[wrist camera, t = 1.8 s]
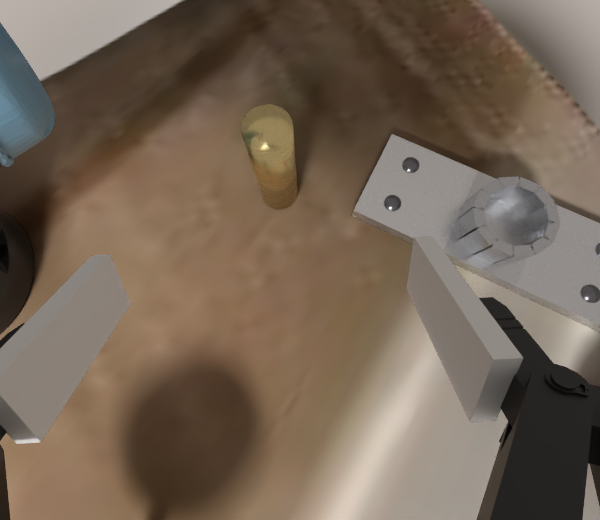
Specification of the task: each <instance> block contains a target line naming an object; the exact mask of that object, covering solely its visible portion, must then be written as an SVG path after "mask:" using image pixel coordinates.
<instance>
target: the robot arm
mask: <svg viewBox="0 0 600 520" xmlns="http://www.w3.org/2000/svg"><path fill="white" fill-rule="evenodd" d="M54 124H55V113H54V109H53V106H52V103H51V101H50V99H49V97H48V95H47V93H46V91H45V89H44V87H43V85H42V84H41V82H40V80H39V79H38V77H37V76H36V74H35V73H34V71H33V69H32V68H31V66H30V65H29V63H28V62H27V60H26V59H25V57H24V56H23V54H22V53H21V51H20V50H19V48H18V47H17V45H16V44H15V43H14V41H13V40H12V38H11V37H10V36H9V34H8V33H7V31H6V30H5V28H4V27H3V26H2V24H1V23H0V167H1V166H2V165H3V166H6V167H9V166H11V165H13V164H14V163H15V158H16V157H18V156H19V155H21V154H22V153H24V152H25V151H27V150H29V149H30V148H32V147H33V146H35V145H36V144H38V143H39V142H41V141H42V140H44V139H45V138H46V137H47V136H48V135H49V134H50V133H51V132H52V130H53V128H54ZM33 270H34V260H33V252H32V248H31V244H30V241H29V239H28V237H27V235H26V233H25V231H24V230H23V228H22V227H21V226H20V225H19V224H18V223H17V221H15V220H14V219H13V218H12V217H11V216H9V215H8V214H6V213H4V212H2V211H0V334H1V333H2V332H3V331H4V330H5V329H6V328H7V327H8V326H9V325H10V323H11V322H12V321H13V320H14V318H15V317H16V316H17V314H18V313H19V311H20V310H21V308H22V306H23V304H24V302H25V300H26V298H27V296H28V293H29V290H30V287H31V283H32V278H33ZM407 290H408V292H409V294H410V297H411V299H412V301H413V303H414V305H415V307H416V309H417V311H418V313H419V316H420V318H421V320H422V322H423V324H424V326H425V328H426V330H427V332H428V334H429V337H430V339H431V341H432V343H433V345H434V347H435V349H436V351H437V353H438V356H439V358H440V360H441V362H442V364H443V366H444V368H445V370H446V372H447V375H448V377H449V379H450V381H451V383H452V385H453V387H454V389H455V391H456V394H457V396H458V398H459V400H460V402H461V404H462V406H463V408H464V410H465V412H466V415H467V417H468V419H469V421H470V422H483V421H496V419H497V417H498V415H499V412H500V410H501V409H502V411H503V413H504V414H505V416H506V418H507V420H508V423H507V426H506V428H505V430H504V432H503V434H502V436H501V438H500V440H499V442H501V444H500V447H499V450H498V453H497V457H496V460H495V463H494V466H493V469H492V472H491V476H490V479H489V482H488V485H487V488H486V492H485V495H484V498H483V501H482V504H481V508H480V511H479V514H478V517H477V520H582V517H583V507H584V497H585V487H586V477H587V467H588V463H589V464H590V466H591V471H592V475H593V479H594V484H595V488H596V492H597V497H598V501H599V505H600V387H597V386H593V385H589V383H588V382H587V381H586V380H585V379H584V378H583V377H581V376H580V375H579V374H578V373H576V372H574V371H572V370H570V369H568V368H566V367H564V366H560V365H557V364H554V363H553V362H552V361H551V360H550V359H549V357H548V356H547V355H546V354H545V353H544V351H543V350H542V349H541V348H540V347H539V345H538V344H537V343H536V342H535V341H534V339H533V338H532V337H531V336H530V334H529V333H528V332H527V331H526V330H525V329H523V326H522V325H521V324H520V322H519V321H518V320H516V319H515V316H514V315H513V314H512V313H511V312H510V310H509V309H508V308H507V307H506V306H505V305H503V304H502V303H500V302H499V301H497V300H496V299H494V298H493V297H490V298H478V296H477V295H476V294H475V292H474V291H473V290H472V288H471V287H470V286H469V284H468V283H467V282H466V280H465V279H464V278H463V276H462V275H461V274H460V272H459V271H458V270H457V268H456V267H455V266H454V264H453V263H452V262H451V260H450V259H449V258H448V256H447V255H446V254H445V252H444V251H443V250H442V248H441V247H440V246H439V244H438V243H437V242H436V240H435V239H434V238H433V236H421V237H414V241H413V248H412V255H411V262H410V269H409V276H408V283H407ZM130 304H131V303H130V301H129V298H128V296H127V294H126V291H125V289H124V287H123V284H122V282H121V279H120V277H119V275H118V272H117V270H116V268H115V265H114V263H113V261H112V258H111V256H110V254H105V255H92V256H91V257H90V258H89V259H88V260H87V261H86V262H85V263H84V264H83V265H82V266H81V267H80V268H79V269H78V270H77V271H76V272H75V273H74V274H73V275H72V276H71V277H70V278H69V279H68V280H67V281H66V282H65V283H64V284H63V285H62V286H61V287H60V288H59V289H58V290H57V292H56V293H55V294H54V295H53V296H52V297H51V298H50V299H49V300H48V301H47V302H46V303H45V304H44V305H43V306H42V307H41V308H40V309H39V310H38V311H37V312H36V313H35V314H34V315H33V316H32V317H31V318H30V319H29V320H28V321H27V322H26V323H23V324H21V325H20V326H18V327H17V328H15V329H14V330H12V331H11V332H9V333H8V334H7V335H6V336H5V337H4V338H2V339H1V340H0V440H1V439H2V438H3V436H4V435H5V434H6V433H7V434H8V435H9V436H10V437H11V438H12V439H13V440H14V441H15V442H16V443H17V444H18V443H39V442H42V440H43V439H44V437H45V435H46V434H47V432H48V431H49V429H50V428H51V426H52V425H53V423H54V422H55V420H56V418H57V417H58V415H59V414H60V412H61V411H62V409H63V408H64V406H65V404H66V403H67V401H68V400H69V398H70V397H71V395H72V394H73V392H74V391H75V389H76V387H77V386H78V384H79V383H80V381H81V380H82V378H83V377H84V375H85V374H86V372H87V370H88V369H89V367H90V366H91V364H92V363H93V361H94V360H95V358H96V356H97V355H98V353H99V352H100V350H101V349H102V347H103V346H104V344H105V343H106V341H107V339H108V338H109V336H110V335H111V333H112V332H113V330H114V329H115V327H116V325H117V324H118V322H119V321H120V319H121V318H122V316H123V315H124V313H125V312H126V310H127V308H128V307H129V305H130ZM0 520H10V512H9V501H8V490H7V480H6V469H5V459H4V450H3V448H2V446H1V445H0Z"/></svg>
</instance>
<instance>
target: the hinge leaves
mask: <svg viewBox="0 0 600 520" xmlns="http://www.w3.org/2000/svg"><path fill="white" fill-rule="evenodd" d="M539 186H540V185H539V184H537V183H534V182H532V181H530V180H527V179H525V178H523V177H520V178H519V176H516V177H499V178H498V179H497V178H493V177H491V176H489V175H486V174H484V173H482V172H479V171H477V170H475V169H472V168H470V167H468V166H465V165H463V164H461V163H458V162H456V161H454V160H452V159H449V158H447V157H445V156H442V155H440V154H438V153H435V152H433V151H431V150H428V149H426V148H424V147H421V146H419V145H417V144H414V143H412V142H410V141H407V140H405V139H403V138H400V137H398V136H396V135H394V134H392V135H391V137H390V139H389V141H388V143H387V145H386V147H385V149H384V151H383V153H382V155H381V157H380V159H379V161H378V163H377V165H376V167H375V169H374V171H373V173H372V175H371V177H370V179H369V181H368V183H367V185H366V187H365V188H364V190H363V192H362V194H361V196H360V198H359V200H358V202H357V204H356V206H355V208H354V210H353V213H352V216H353V217H355V218H357V219H359V220H362V221H364V222H366V223H368V224H370V225H372V226H374V227H377V228H379V229H381V230H383V231H385V232H387V233H389V234H391V235H394V236H396V237H398V238H400V239H402V240H404V241H406V242H409V243H411V244H413V241H414V237H421V236H433V238H434V239H435V240H436V242H437V243H438V244H439V246H440V247H441V248H442V250H443V251H444V252H445V254H446V255H447V256H448V258H449V259H450V260H451V262H452V263H453V264H455V265H458V266H460V267H462V268H464V269H466V270H468V271H470V272H473V273H475V274H477V275H479V276H481V277H483V278H485V279H487V280H490V281H492V282H494V283H496V284H498V285H500V286H502V287H505V288H507V289H509V290H511V291H513V292H515V293H517V294H519V295H522V296H524V297H526V298H528V299H530V300H532V301H534V302H537V303H539V304H541V305H543V306H545V307H547V308H549V309H551V310H554V311H556V312H558V313H560V314H562V315H564V316H566V317H569V318H571V319H573V320H575V321H577V322H579V323H581V324H583V325H586V326H588V327H590V328H592V329H594V330H596V331H598V332H600V223H598V222H595V221H593V220H591V219H588V218H586V217H584V216H581V215H579V214H577V213H575V212H572V211H570V210H568V209H565V208H563V207H561V206H558V205H556V204H554V202H555V201H554V200H553V199H552V197H551V196H550V195H549V194H548V193H547V192H546V191H545V189H544V188H543V187H542V186H541V187H539Z"/></svg>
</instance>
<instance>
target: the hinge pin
mask: <svg viewBox="0 0 600 520" xmlns="http://www.w3.org/2000/svg"><path fill="white" fill-rule="evenodd" d="M241 133H242V137H243V140H244V143H245V146H246V149H247V152H248V155H249V158H250V161H251V164H252V167H253V170H254V173H255V176H256V179H257V182H258V185H259V188H260V191H261V194H262V197H263V199H264V201H265V203H266V204H267V205H268V206H270V207H271V208H274V209H286V208H288V207H290V206H291V205H292V204H293V203H294V202H295V201H296V199H297V195H298V189H297V175H296V161H295V146H294V132H293V122H292V119H291V117H290V115H289V114H288V113H287V112H286V111H285V110H284V109H282V108H281V107H278V106H276V105H270V104H266V105H260V106H257V107H255V108H253V109H252V110H250V111H249V112H248V113H247V114H246V115H245V117H244V119H243V121H242V124H241Z"/></svg>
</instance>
